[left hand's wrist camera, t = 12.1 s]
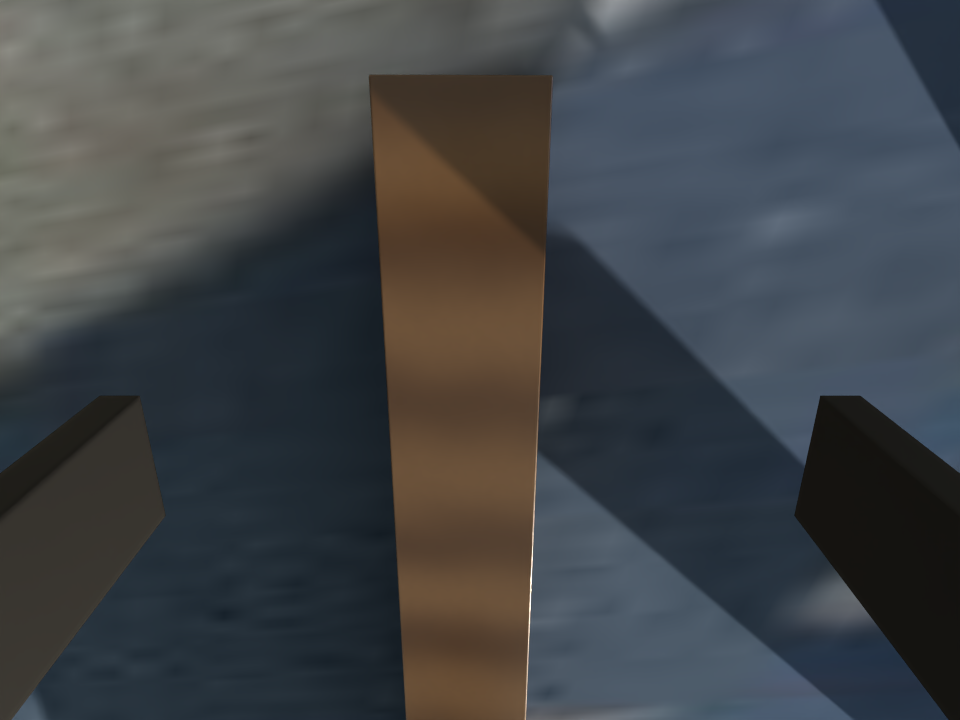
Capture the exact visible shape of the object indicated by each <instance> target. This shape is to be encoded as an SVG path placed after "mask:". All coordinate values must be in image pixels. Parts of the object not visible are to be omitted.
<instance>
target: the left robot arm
mask: <svg viewBox="0 0 960 720" xmlns="http://www.w3.org/2000/svg"><path fill="white" fill-rule="evenodd" d="M165 516H166V515H165V511H164V506H163V501H162V497H161V492H160V488H159V483H158V478H157V474H156V469H155V465H154V460H153V455H152V451H151V446H150V441H149V437H148V432H147V428H146V423H145V418H144V414H143V409H142V405H141V400H140V396H99V397H98V398H96V399H95V400H94V401H92V402H91V403H90V404H89V405H87V406H86V407H85V408H84V409H82V410H81V411H80V412H78V413H77V414H76V415H75V416H73V417H72V418H71V419H69V420H68V421H67V422H66V423H64V424H63V425H62V426H60V427H59V428H58V429H57V430H55V431H54V432H53V433H51V434H50V435H49V436H48V437H46V438H45V439H44V440H42V441H41V442H40V443H39V444H37V445H36V446H35V447H33V448H32V449H31V450H30V451H28V452H27V453H26V454H25V455H23V456H22V457H21V458H19V459H18V460H17V461H16V462H14V463H13V464H12V465H10V466H9V467H8V468H7V469H5V470H4V471H3V472H1V473H0V720H11V719H12V718H13V717H14V716H15V714H16V713H17V712H18V710H19V709H20V708H21V706H22V705H23V704H24V702H25V701H26V700H27V698H28V697H29V696H30V694H31V693H32V692H33V690H34V689H35V688H36V686H37V685H38V684H39V682H40V681H41V680H42V678H43V677H44V676H45V674H46V673H47V672H48V671H49V669H50V668H51V667H52V665H53V664H54V663H55V661H56V660H57V659H58V657H59V656H60V655H61V653H62V652H63V651H64V649H65V648H66V647H67V645H68V644H69V643H70V641H71V640H72V639H73V637H74V636H75V635H76V633H77V632H78V631H79V629H80V628H81V627H82V626H83V624H84V623H85V622H86V620H87V619H88V618H89V616H90V615H91V614H92V612H93V611H94V610H95V608H96V607H97V606H98V604H99V603H100V602H101V600H102V599H103V598H104V596H105V595H106V594H107V592H108V591H109V590H110V588H111V587H112V586H113V584H114V583H115V582H116V581H117V579H118V578H119V577H120V575H121V574H122V573H123V571H124V570H125V569H126V567H127V566H128V565H129V563H130V562H131V561H132V559H133V558H134V557H135V555H136V554H137V553H138V551H139V550H140V549H141V547H142V546H143V545H144V543H145V542H146V541H147V539H148V538H149V537H150V536H151V534H152V533H153V532H154V530H155V529H156V528H157V526H158V525H159V524H160V522H161V521H162V520H163V518H164V517H165ZM794 516H795V517H796V518H797V520H798V521H799V522H800V524H801V525H802V526H803V528H804V529H805V530H806V532H807V533H808V534H809V536H810V537H811V538H812V539H813V541H814V542H815V543H816V545H817V546H818V547H819V549H820V550H821V551H822V553H823V554H824V555H825V557H826V558H827V559H828V561H829V562H830V563H831V565H832V566H833V567H834V569H835V570H836V571H837V573H838V574H839V575H840V577H841V578H842V579H843V581H844V582H845V583H846V584H847V586H848V587H849V588H850V590H851V591H852V592H853V594H854V595H855V596H856V598H857V599H858V600H859V602H860V603H861V604H862V606H863V607H864V608H865V610H866V611H867V612H868V614H869V615H870V616H871V618H872V619H873V620H874V622H875V623H876V624H877V626H878V627H879V628H880V629H881V631H882V632H883V633H884V635H885V636H886V637H887V639H888V640H889V641H890V643H891V644H892V645H893V647H894V648H895V649H896V651H897V652H898V653H899V655H900V656H901V657H902V659H903V660H904V661H905V663H906V664H907V665H908V667H909V668H910V669H911V671H912V672H913V673H914V674H915V676H916V677H917V678H918V680H919V681H920V682H921V684H922V685H923V686H924V688H925V689H926V690H927V692H928V693H929V694H930V696H931V697H932V698H933V700H934V701H935V702H936V704H937V705H938V706H939V708H940V709H941V710H942V712H943V713H944V714H945V716H946V717H947V718H948V719H949V720H960V473H959V472H957V471H956V470H955V469H953V468H952V467H951V466H950V465H948V464H947V463H946V462H944V461H943V460H942V459H941V458H939V457H938V456H937V455H935V454H934V453H933V452H932V451H930V450H929V449H928V448H927V447H925V446H924V445H923V444H921V443H920V442H919V441H918V440H916V439H915V438H914V437H912V436H911V435H910V434H909V433H907V432H906V431H905V430H903V429H902V428H901V427H900V426H898V425H897V424H896V423H894V422H893V421H892V420H891V419H889V418H888V417H887V416H885V415H884V414H883V413H882V412H880V411H879V410H878V409H876V408H875V407H874V406H873V405H871V404H870V403H869V402H868V401H866V400H865V399H864V398H862V397H861V396H820V400H819V405H818V409H817V414H816V418H815V423H814V428H813V432H812V437H811V441H810V446H809V451H808V455H807V460H806V465H805V469H804V474H803V478H802V483H801V488H800V492H799V497H798V501H797V506H796V511H795V515H794Z"/></svg>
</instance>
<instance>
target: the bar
mask: <svg viewBox="0 0 960 720" xmlns="http://www.w3.org/2000/svg"><path fill="white" fill-rule="evenodd" d="M369 87H370V105H371V122H372V139H373V157H374V174H375V191H376V209H377V226H378V243H379V261H380V278H381V295H382V313H383V330H384V347H385V365H386V382H387V399H388V417H389V434H390V451H391V469H392V486H393V503H394V521H395V538H396V555H397V573H398V590H399V607H400V625H401V642H402V659H403V677H404V694H405V711H406V720H526V702H527V679H528V655H529V632H530V608H531V585H532V561H533V538H534V514H535V491H536V467H537V444H538V420H539V397H540V373H541V350H542V326H543V303H544V279H545V256H546V232H547V209H548V185H549V162H550V138H551V115H552V91H553V76H552V75H369Z"/></svg>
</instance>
